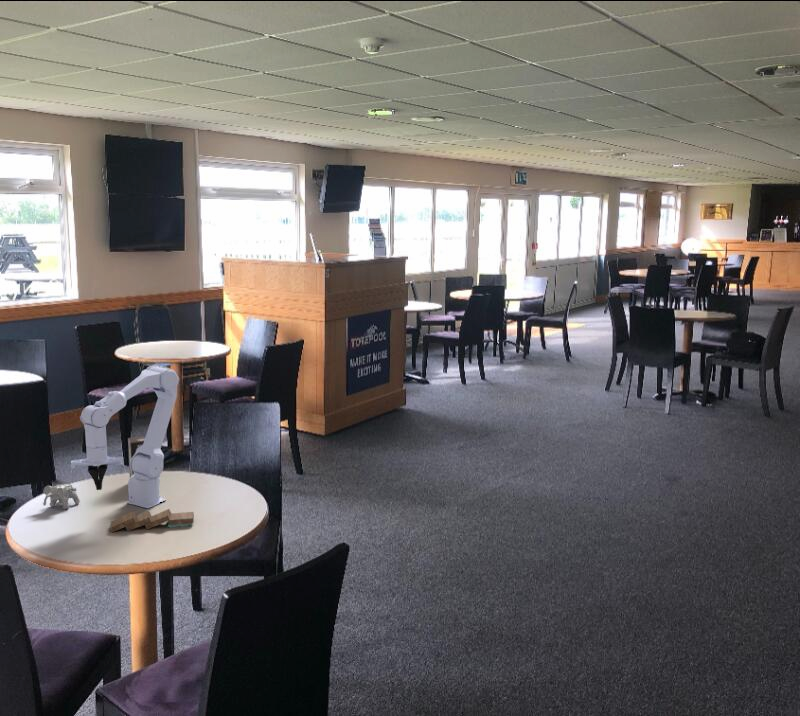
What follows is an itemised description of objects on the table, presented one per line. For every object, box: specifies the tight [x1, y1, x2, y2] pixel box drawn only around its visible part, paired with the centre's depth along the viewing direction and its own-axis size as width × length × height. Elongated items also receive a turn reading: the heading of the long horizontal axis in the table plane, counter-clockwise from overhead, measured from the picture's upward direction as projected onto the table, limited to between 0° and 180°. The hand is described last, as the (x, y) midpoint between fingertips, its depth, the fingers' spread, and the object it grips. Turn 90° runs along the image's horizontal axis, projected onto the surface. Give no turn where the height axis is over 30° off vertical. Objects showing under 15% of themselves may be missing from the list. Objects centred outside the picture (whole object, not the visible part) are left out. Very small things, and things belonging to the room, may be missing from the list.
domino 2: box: [125, 510, 152, 532], centre depth 225 cm, size 2×5×7 cm
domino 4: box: [169, 511, 195, 525], centre depth 228 cm, size 2×5×7 cm
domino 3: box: [144, 508, 172, 530], centre depth 226 cm, size 2×5×7 cm
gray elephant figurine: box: [42, 483, 81, 510], centre depth 237 cm, size 9×12×8 cm
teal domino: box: [167, 521, 193, 528], centre depth 228 cm, size 2×5×7 cm
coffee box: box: [127, 435, 161, 485], centre depth 259 cm, size 9×6×16 cm
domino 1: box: [109, 510, 137, 533], centre depth 223 cm, size 2×5×7 cm
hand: (99, 488), depth 228 cm, fingers closed
